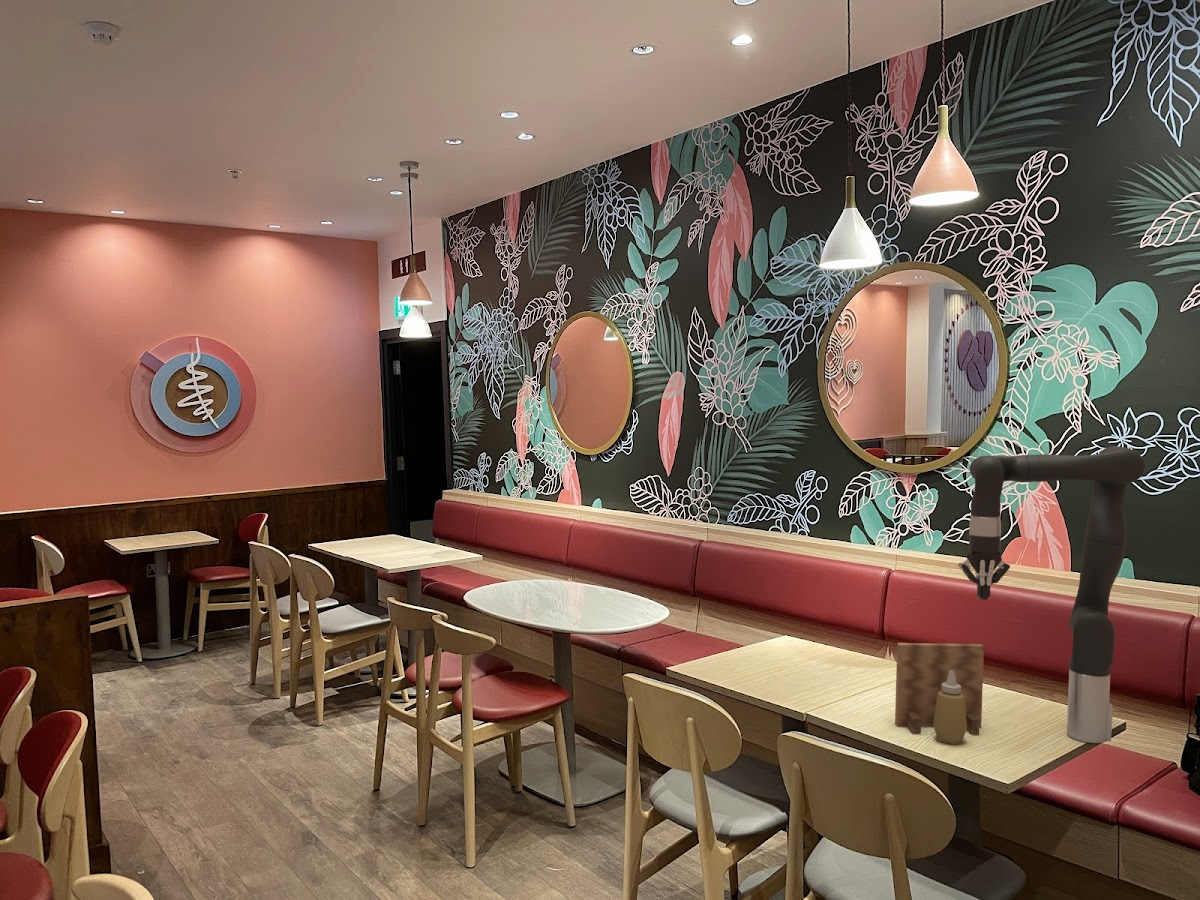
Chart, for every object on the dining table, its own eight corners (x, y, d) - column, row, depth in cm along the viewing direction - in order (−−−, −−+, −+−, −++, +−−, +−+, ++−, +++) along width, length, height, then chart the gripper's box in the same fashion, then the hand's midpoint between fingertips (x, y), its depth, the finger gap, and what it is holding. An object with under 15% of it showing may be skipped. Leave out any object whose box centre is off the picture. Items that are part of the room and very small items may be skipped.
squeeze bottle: (937, 731, 232) (939, 664, 231) (970, 739, 228) (972, 669, 226) (928, 741, 226) (930, 671, 225) (961, 749, 221) (964, 677, 220)
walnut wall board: (978, 725, 237) (980, 644, 236) (988, 735, 230) (991, 651, 229) (894, 723, 238) (897, 642, 236) (903, 733, 231) (905, 650, 229)
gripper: (1004, 531, 234) (1002, 596, 235) (953, 530, 235) (952, 595, 236) (1017, 535, 227) (1015, 602, 228) (965, 535, 227) (963, 602, 228)
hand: (983, 599), depth 232 cm, fingers closed
